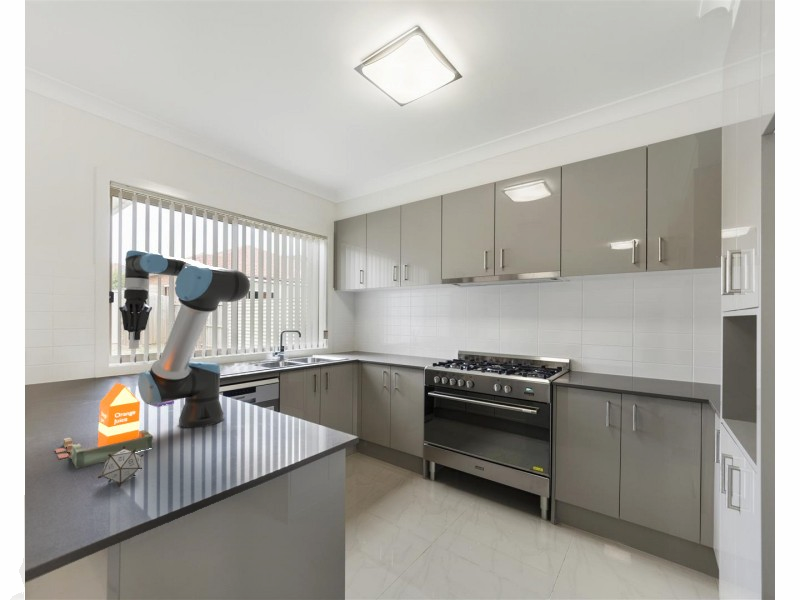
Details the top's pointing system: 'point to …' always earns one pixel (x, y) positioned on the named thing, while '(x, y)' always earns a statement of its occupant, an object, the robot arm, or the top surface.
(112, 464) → the game die
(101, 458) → the tray
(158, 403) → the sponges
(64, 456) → the trap strips
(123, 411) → the orange juice
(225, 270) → the robot arm
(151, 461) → the top surface
